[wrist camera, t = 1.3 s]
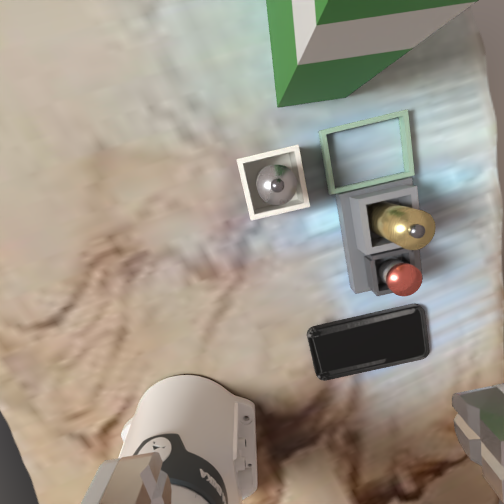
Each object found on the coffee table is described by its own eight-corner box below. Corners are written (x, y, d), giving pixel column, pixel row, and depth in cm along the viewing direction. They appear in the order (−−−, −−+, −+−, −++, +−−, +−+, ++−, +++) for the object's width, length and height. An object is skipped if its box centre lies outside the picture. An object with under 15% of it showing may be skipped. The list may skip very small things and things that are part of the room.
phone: (306, 330, 41) (423, 304, 41) (304, 326, 42) (419, 300, 42) (318, 382, 43) (430, 358, 43) (316, 377, 44) (426, 353, 44)
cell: (397, 228, 37) (441, 246, 29) (366, 236, 37) (400, 255, 29) (393, 197, 36) (437, 206, 28) (361, 205, 36) (395, 216, 28)
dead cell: (289, 193, 37) (301, 201, 29) (259, 200, 37) (262, 210, 29) (283, 161, 36) (293, 160, 28) (252, 169, 37) (253, 169, 28)
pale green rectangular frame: (409, 175, 37) (414, 175, 36) (328, 193, 38) (331, 194, 37) (402, 111, 36) (407, 109, 34) (318, 131, 36) (320, 130, 35)
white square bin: (302, 201, 38) (310, 206, 33) (250, 213, 38) (250, 220, 33) (291, 147, 36) (298, 144, 32) (238, 160, 37) (236, 159, 32)
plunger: (408, 281, 37) (423, 292, 34) (378, 288, 37) (391, 299, 34) (405, 253, 36) (420, 261, 33) (374, 260, 36) (387, 268, 33)
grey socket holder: (414, 273, 40) (436, 288, 36) (350, 287, 41) (364, 303, 36) (403, 177, 37) (426, 178, 33) (335, 193, 38) (347, 196, 33)
